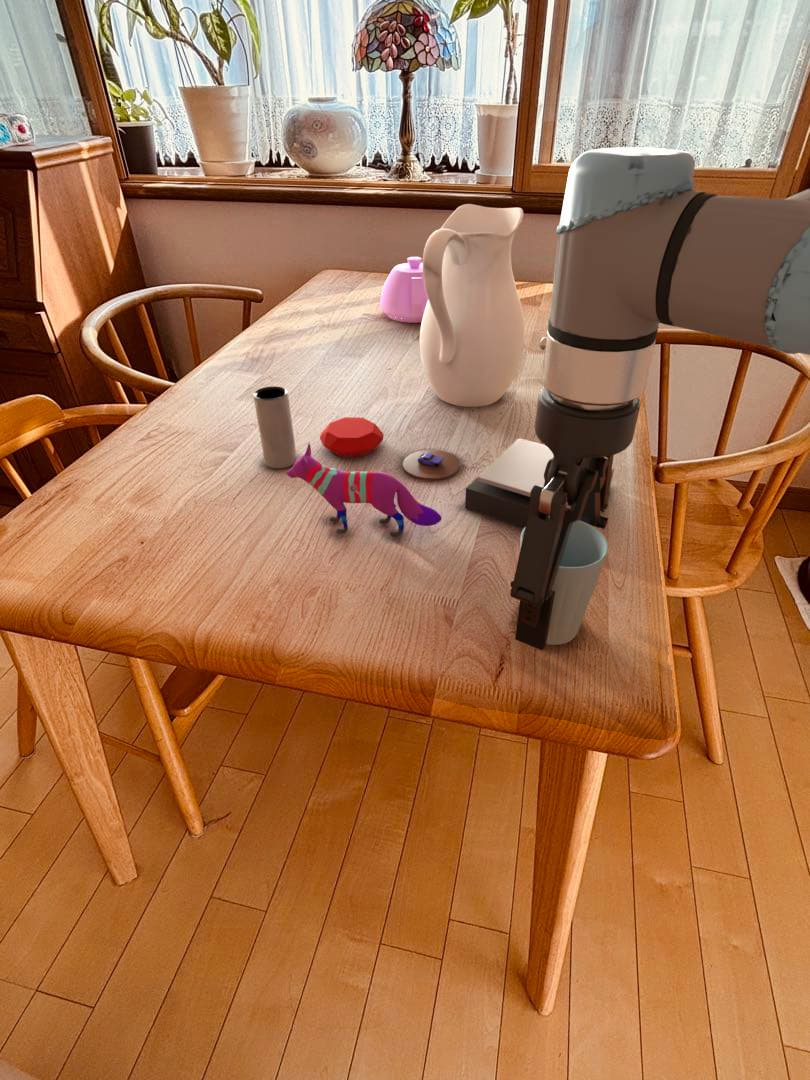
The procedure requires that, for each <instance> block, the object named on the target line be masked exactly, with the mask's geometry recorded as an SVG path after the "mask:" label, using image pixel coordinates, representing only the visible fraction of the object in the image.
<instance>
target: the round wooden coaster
mask: <svg viewBox="0 0 810 1080" xmlns="http://www.w3.org/2000/svg"><path fill="white" fill-rule="evenodd" d="M461 465H462V463H461V460H460V459H459V458H458V456H456V455H455V454H454V453H451V452H448V451H444V450H439V449H421V450H418V451H415V452H412V453H410V454H409V455H407V456H406V457H405V458H403V461H402V469H403V471H404V472H405V474H407V475H408V476H410V477H411V478H414V479H417V480H421V481H422V480H423V481H429V482H431V481H432V482H435V481H442V480H443V481H444V480H446V479H450V478H452V477H454V476H455V475H457V474H458V473H459V472H460V470H461Z"/></svg>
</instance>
